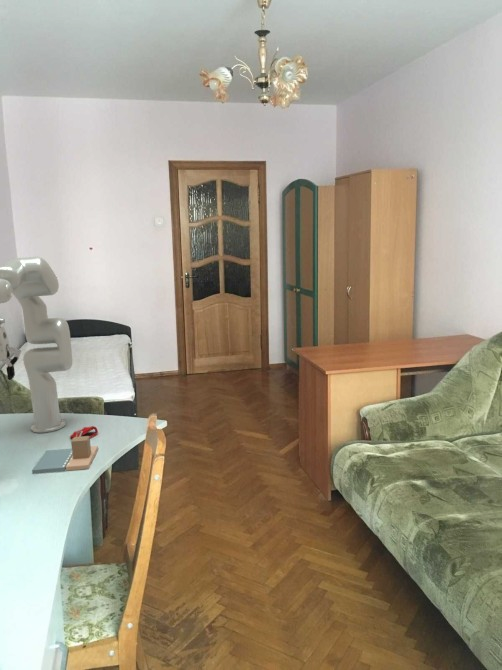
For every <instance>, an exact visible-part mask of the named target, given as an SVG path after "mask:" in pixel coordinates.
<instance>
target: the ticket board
mask: <svg viewBox="0 0 502 670" xmlns="http://www.w3.org/2000/svg"><path fill="white" fill-rule="evenodd" d="M72 455H73V453H72V447H71V448H62V449H59V448H58V449H50V450H49V449H48V450H45V451H44V453H43V454H42V456H41V457H40V458H39V460H38V461H37V462H36V464H35V465H34V467H33V468H32V470H31V473H32V475H34V473H36V474H46V473H48V474H49V473H58V472H65V471H66V465H67V464H68V462H69V460H70V459H71V457H72Z"/></svg>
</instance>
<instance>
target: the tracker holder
mask: <svg viewBox="0 0 502 670" xmlns="http://www.w3.org/2000/svg"><path fill="white" fill-rule="evenodd" d="M93 430H94V433H93V434H91V435H88V436H89V437H90V439H92V438H94V437H95V436H97V435H98V432H99V431H98V428H97V426H95V425H89V426H84V427H80V428H79V429H76V430H75V431H73V433H72V434H71V435H70V439H71V440H72V439H73V438H74V437H82V436H85V435H86V434H87V433H89V432H91V431H93Z"/></svg>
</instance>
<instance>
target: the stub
mask: <svg viewBox="0 0 502 670" xmlns="http://www.w3.org/2000/svg"><path fill="white" fill-rule="evenodd" d="M89 436H90V435H82V437H74V438H73V439H71V441H70V443H71V444H70V445H71V448H72V453H73V455H72V457H71V459H70V460H69V462H68V464H67V465H66V470H65V471H75V470H76V471H77V470H88V469H90V466H91V465H92V463H93V462H94V458H95V456H96V454H97V452H98V450H99V445H94V446H91V440H90V439H91V438H90V437H89Z"/></svg>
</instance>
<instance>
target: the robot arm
mask: <svg viewBox="0 0 502 670" xmlns="http://www.w3.org/2000/svg"><path fill="white" fill-rule="evenodd" d="M58 291H59V280H58V276H57V275H56V273H55V271H54V270H53V269H52V267H51V265H50V264H49V263H48V262H47V261H46V260H45V259H44V258H42V257H39V256H31V257H27V256H26V257H14V258H11V259H9V260H8V261H6V262H5V263H3V264H2V265H1V266H0V304H5V303H7V302H9V301H10V300H11V299H12V298H13V296H14V298H15V299H16V300H17V301H18V303H19V305H20V306H21V309H22V316H23V323H24V324H23V326H24V334H25V339H26V342H27V343H28V344H31V345H48V344H49V345H50V344H55V345H57V346H45V347H34V348H30V349H29V350H26V351H25V352H24V354H23V358H22V359H23V365H24V369H25V372H26V374H27V378H28V384H29V390H30V398H31V406H32V412H33V413H32V414H33V420H34V422H33V423H34V424H32V425H31V426H30V430H31V432H33V433H40V434H42V433H43V434H44V433H51V432H54V431H58V430H61V429H62V428H64V427H65V426H66V421H65V420H64V419H61V412H60V405H59V397H58V389H57V382H56V380H55V378H54V377H53V375H51V373H57V372H58V373H59V372H66V371H69V370H70V369H71V368H72V366H73V352H72V343H71V341H72V340H71V332H70V327H69V324H68V321H67V320H65V318H61V317H53V318H49V317H48V310H47V309H48V308H47V305H46V302H44V300H43V299H42V298H41V297H45V296H53V295H56V294H57V292H58ZM5 323H6V320H5V318H1V317H0V362H3V363H4V365H7V366H6V376H7V380H9V381H11V380H12V379H14V378H15V376H16V372H15V364H16V363H17V361H19V359H20V356H21V355H22V354H21V353H22V350H21V349H18V348H16V347H13V346H10V342H9V338H8V335H7V332H6V328H5V327H4V326H2V325H3V324H5ZM12 353H13V354H14V356H13V358H11V355H12Z"/></svg>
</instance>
